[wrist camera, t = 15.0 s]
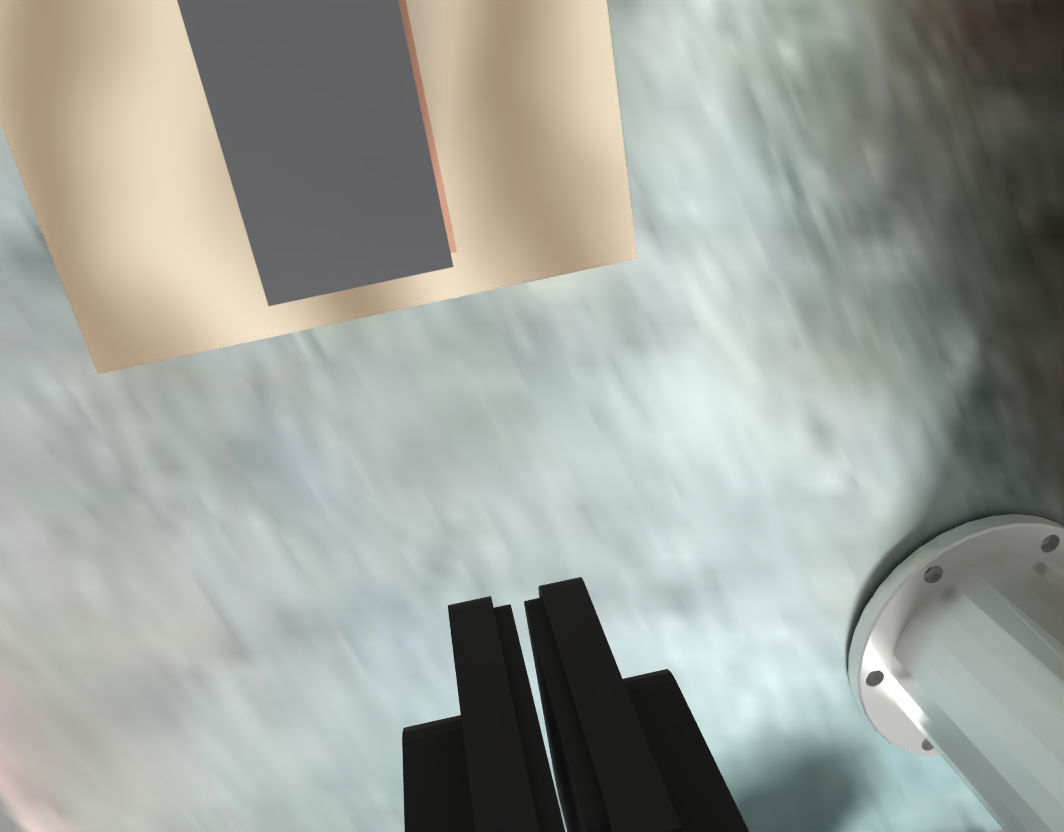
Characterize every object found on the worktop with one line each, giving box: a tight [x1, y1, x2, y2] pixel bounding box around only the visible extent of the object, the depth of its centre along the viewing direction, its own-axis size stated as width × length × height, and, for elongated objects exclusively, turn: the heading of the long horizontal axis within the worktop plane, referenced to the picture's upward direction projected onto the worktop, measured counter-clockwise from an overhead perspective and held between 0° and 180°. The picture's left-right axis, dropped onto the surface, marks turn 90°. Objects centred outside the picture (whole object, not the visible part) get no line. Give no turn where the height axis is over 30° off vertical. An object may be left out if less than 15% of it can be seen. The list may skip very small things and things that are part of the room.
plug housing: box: [177, 0, 453, 306], centre depth 24 cm, size 5×9×6 cm, turn 10°
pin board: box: [0, 0, 637, 374], centre depth 26 cm, size 18×14×4 cm
